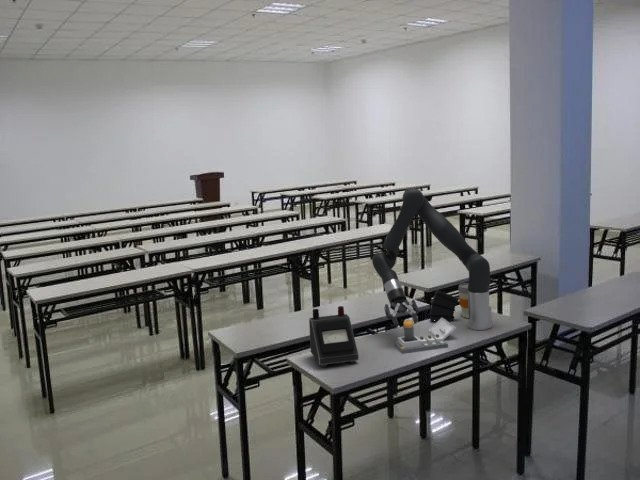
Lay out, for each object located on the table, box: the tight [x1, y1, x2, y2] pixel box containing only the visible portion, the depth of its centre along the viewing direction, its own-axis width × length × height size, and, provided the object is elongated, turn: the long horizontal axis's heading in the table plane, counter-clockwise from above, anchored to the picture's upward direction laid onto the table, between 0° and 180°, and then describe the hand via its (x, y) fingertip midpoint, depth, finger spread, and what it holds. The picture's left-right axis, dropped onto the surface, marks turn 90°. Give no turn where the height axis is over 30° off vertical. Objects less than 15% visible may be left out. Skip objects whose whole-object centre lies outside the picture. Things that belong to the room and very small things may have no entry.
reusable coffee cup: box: [457, 282, 469, 319], centre depth 284 cm, size 13×13×15 cm
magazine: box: [428, 289, 459, 323], centre depth 280 cm, size 4×13×15 cm, turn 88°
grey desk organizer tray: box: [394, 334, 449, 354], centre depth 249 cm, size 20×10×4 cm, turn 100°
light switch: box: [428, 318, 457, 341], centre depth 261 cm, size 8×5×14 cm
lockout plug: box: [403, 319, 415, 342], centre depth 247 cm, size 4×4×10 cm
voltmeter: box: [308, 305, 360, 368], centre depth 239 cm, size 16×16×20 cm
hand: (406, 324), depth 249 cm, fingers open, 8 cm apart
